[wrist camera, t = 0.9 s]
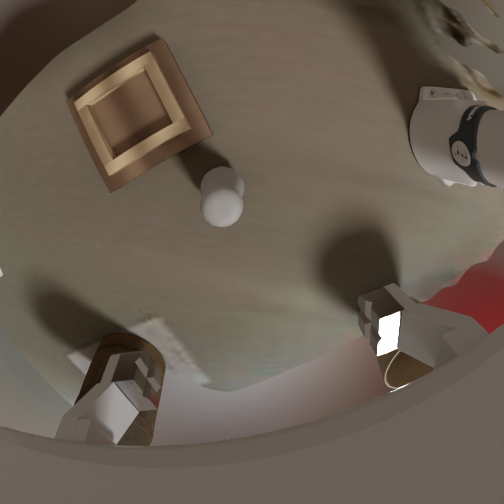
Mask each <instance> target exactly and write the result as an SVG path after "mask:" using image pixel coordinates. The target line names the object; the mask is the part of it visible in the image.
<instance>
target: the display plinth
mask: <svg viewBox="0 0 504 504" xmlns="http://www.w3.org/2000/svg"><path fill="white" fill-rule="evenodd" d="M66 102H67V105H68V107H69V109H70V112H71V114H72V116H73V119H74V121H75V123H76V125H77V128H78V130H79V132H80V134H81V136H82V138H83V141H84V143H85V145H86V147H87V149H88V151H89V153H90V155H91V157H92V159H93V161H94V163H95V165H96V167H97V169H98V171H99V173H100V175H101V176H102V178H103V180H104V182H105V184H106V186H107V188H108V190H109V191H110V193H112V192H113V191H115V190H117V189H119V188H120V187H122V186H123V185H125V184H126V183H128V182H129V181H131V180H133V179H134V178H136V177H137V176H139V175H141V174H142V173H144V172H146V171H147V170H149V169H151V168H152V167H154V166H156V165H158V164H159V163H161V162H163V161H165V160H166V159H168V158H170V157H172V156H173V155H175V154H177V153H179V152H181V151H183V150H185V149H186V148H188V147H190V146H192V145H194V144H196V143H198V142H200V141H202V140H204V139H206V138H208V137H210V136H212V135H213V133H212V131H211V129H210V127H209V125H208V123H207V121H206V119H205V117H204V115H203V113H202V111H201V109H200V107H199V105H198V103H197V101H196V99H195V97H194V95H193V93H192V91H191V90H190V88H189V86H188V84H187V82H186V80H185V78H184V76H183V74H182V72H181V70H180V68H179V66H178V64H177V63H176V61H175V59H174V57H173V55H172V53H171V51H170V49H169V47H168V45H167V44H166V42H165V41H164V39H163V38H160V39H158V40H156V41H155V42H153V43H151V44H149V45H147V46H145V47H144V48H142V49H140V50H138V51H137V52H135V53H133V54H132V55H130V56H128V57H127V58H125V59H123V60H122V61H120V62H119V63H117V64H116V65H114V66H113V67H111V68H110V69H108V70H107V71H105V72H104V73H102V74H101V75H100V76H98V77H97V78H95V79H94V80H93V81H91V82H90V83H89V84H87V85H86V86H85V87H83V88H82V89H81V90H80V91H78V92H77V93H76V94H75V95H73V96H72V97H71V98H70V99H68V100H67V101H66Z"/></svg>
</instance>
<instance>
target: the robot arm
mask: <svg viewBox="0 0 504 504" xmlns="http://www.w3.org/2000/svg"><path fill="white" fill-rule="evenodd" d="M410 142H411V146H412V150H413V153H414V155H415V157H416V159H417V161H418V163H419V164H420V166H421V167H422V168H423V169H424V170H425V171H426V172H428V173H430V174H432V175H434V176H436V177H438V178H439V179H440V180H441V182H442V183H443V184H444V185H446V186H451V185H453V184H454V183H455V182H456V183H460V184H465V185H469V186H475V185H476V184H477V183H480V184H482V185H485V186H491V187H497V186H498V187H501V188H504V111H503V110H497V109H496V108H494V107H491V106H489V105H488V104H487V103H486V102H485V101H477V99H476V97H475V96H474V94H473V93H472V91H469V90H461V89H453V88H443V87H429V86H423V87H421V89H420V93H419V101H418V104H417V106H416V108H415V109H414V112H413V114H412V117H411V121H410ZM358 306H359V307H360V309H361V310H360V312H359V314H358V322H359V326H360V329H361V331H362V333H363V335H364V336H365V337H366V338H369V339H370V346H371V347H372V349H373V350H374V352H375V353H376V355H377V356H379V355H381V354H384V353H387V352H389V351H392V350H394V349H397V350H399V351H401V352H403V353H405V354H407V355H409V356H411V357H413V358H415V359H417V360H419V361H421V362H423V363H425V364H427V365H429V366H431V367H433V371H432V372H430V373H428V374H426V375H424V376H422V377H420V378H418V379H416V380H415V381H413V382H411V383H409V384H406V385H404V386H402V387H400V388H398V389H396V390H394V391H392V392H389V393H387V394H385V395H383V396H380V397H378V398H376V399H373V400H371V401H368V402H366V403H363V404H361V405H358V406H356V407H353V408H350V409H348V410H345V411H342V412H339V413H336V414H334V415H331V416H327V417H324V418H321V419H318V420H315V421H311V422H308V423H304V424H300V425H297V426H293V427H290V428H285V429H281V430H277V431H272V432H268V433H263V434H258V435H253V436H248V437H242V438H236V439H229V440H222V441H215V442H207V443H197V444H185V445H168V446H118V445H117V443H118V442H119V440H120V439H121V437H122V436H123V435H124V433H125V432H126V430H127V429H128V427H129V426H130V425H131V423H132V422H133V420H134V419H135V417H136V416H137V415H138V413H139V411H147V410H156V409H158V403H159V395H158V393H157V391H158V390H159V389H160V388H161V383H162V381H161V374H160V372H159V369H158V368H157V366H156V365H155V364H153V363H151V362H150V359H151V357H150V355H149V354H148V353H147V351H144V350H142V351H135V352H127V353H121V354H113V355H112V356H110V358H109V361H108V364H107V366H106V369H105V371H104V374H103V377H102V380H101V382H100V383H98V384H96V385H95V386H94V387H93V388H92V389H91V390H90V391H89V392H88V393H87V394H86V395H85V396H83V397H82V398H81V399H80V400H79V401H78V402H77V403H76V404H75V405H74V406H73V407H72V408H71V409H70V410H69V411H68V412H67V413H66V414H64V416H62V419H61V422H60V424H59V427H58V430H57V433H56V436H55V439H53V438H49V437H43V436H38V435H34V434H29V433H25V432H21V431H17V430H14V429H10V428H7V427H3V426H1V427H0V504H504V324H503V325H502V326H501V327H499V328H498V329H496V330H495V331H494V332H493V333H491V334H490V335H489V334H488V333H487V332H486V331H485V330H484V329H483V328H482V327H481V326H480V325H479V324H478V323H477V322H476V321H475V320H474V319H473V318H472V317H469V316H466V315H462V314H458V313H454V312H451V311H447V310H443V309H439V308H436V307H432V306H429V305H425V304H421V303H419V304H416V303H415V302H414V301H413V300H412V299H411V298H410V297H409V296H408V295H407V294H406V293H405V292H404V291H403V290H402V289H400V288H399V287H398V286H397V285H396V284H395V283H392V284H389V285H387V286H384V287H382V288H380V289H377V290H374V291H371V292H369V293H366V294H363V295H360V296H359V297H358Z"/></svg>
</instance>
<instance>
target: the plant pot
mask: <svg viewBox="0 0 504 504" xmlns="http://www.w3.org/2000/svg"><path fill="white" fill-rule="evenodd" d="M410 298H411V299H412V300H413V301H414V302H415V303H416V304H419V303H421V304H423V303H422V302H420V301H418V300H416V299H414V298H412V297H410ZM376 356H377V355H376ZM377 359H378V363H379V366H380V369H381V372H382V375H383V378H384V380H385V383H386V385H387V386H389V387H390V388H394V389H398V388H400V387H402V386H404V385H406V384H409V383H411V382H413V381H415V380H416V379H418V378H420V377H422V376H424V375H426V374H428V373H430V372H432V371H433V367H431V366H429V365H427V364H425V363H423V362H421V361H419V360H417V359H415V358H413V357H411V356H409V355H407V354H405V353H403V352H401V351H399V350H397V349H394V350H392V351H389V352H387V353H384V354H381V355H379V356H377Z"/></svg>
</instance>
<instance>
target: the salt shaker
mask: <svg viewBox="0 0 504 504" xmlns="http://www.w3.org/2000/svg"><path fill="white" fill-rule="evenodd" d="M243 193H244V182H243V180H242V178H241V176H240V174H239V173H237V172H236V171H235V170H233V169H232V168H228V167H224V166H221V167H217V168H213V169H212V170H210V171H209V172H208V173H206V174H205V175H204V178H203V180H202V182H201V195H202V199H201V201H200V211H201V213H202V215H203V217H204V218H205V220H206V221H207V222H209V223H210V224H211V225H213V226H218V227H225V226H230V225H232V224H233V223H234V222H235V221H237V220H238V218H239V216H240V215H241V213H242V211H243V200H242V198H241V197H242V195H243Z"/></svg>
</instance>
